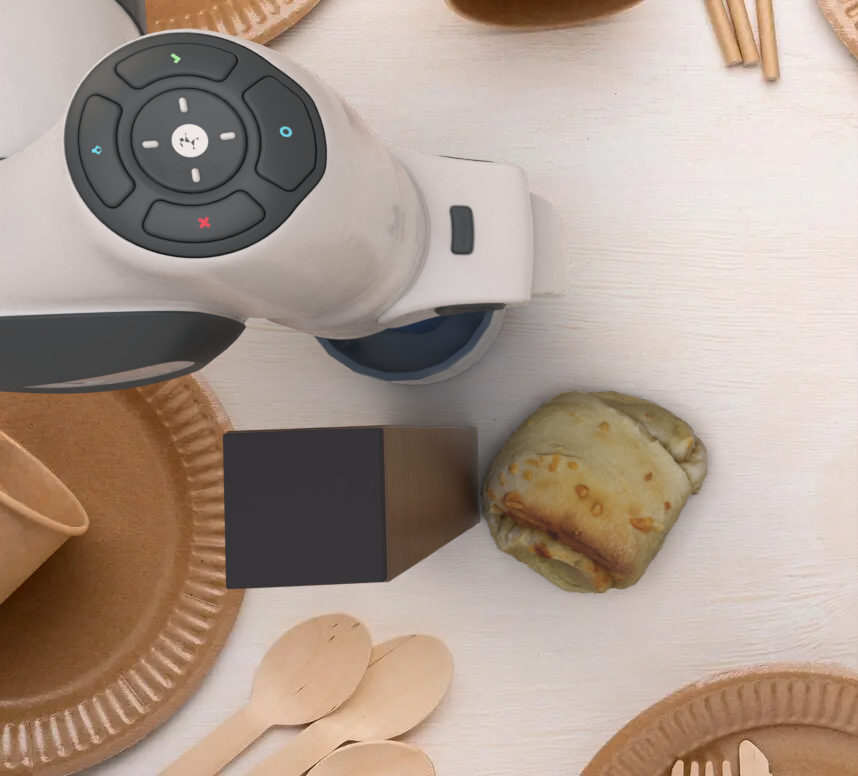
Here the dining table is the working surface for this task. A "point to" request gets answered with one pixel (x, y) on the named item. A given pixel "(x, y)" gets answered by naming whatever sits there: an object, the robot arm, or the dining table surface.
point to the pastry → (592, 488)
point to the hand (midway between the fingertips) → (398, 281)
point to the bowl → (420, 349)
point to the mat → (304, 508)
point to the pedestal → (423, 489)
